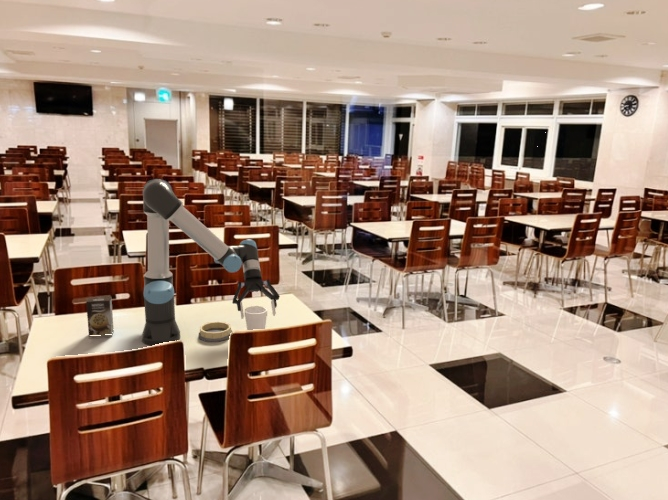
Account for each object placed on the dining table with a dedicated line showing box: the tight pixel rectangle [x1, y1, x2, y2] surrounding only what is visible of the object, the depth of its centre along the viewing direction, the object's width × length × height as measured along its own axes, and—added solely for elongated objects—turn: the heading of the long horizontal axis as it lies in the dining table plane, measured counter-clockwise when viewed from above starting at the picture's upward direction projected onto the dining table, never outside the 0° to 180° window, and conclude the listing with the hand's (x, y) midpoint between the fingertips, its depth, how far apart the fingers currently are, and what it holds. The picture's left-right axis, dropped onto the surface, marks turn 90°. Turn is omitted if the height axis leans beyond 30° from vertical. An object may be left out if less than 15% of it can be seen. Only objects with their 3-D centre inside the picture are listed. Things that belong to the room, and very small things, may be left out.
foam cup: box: [244, 305, 268, 330], centre depth 217 cm, size 10×9×13 cm
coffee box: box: [85, 295, 115, 339], centre depth 216 cm, size 9×6×16 cm
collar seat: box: [198, 321, 233, 343], centre depth 220 cm, size 14×14×4 cm
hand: (258, 316), depth 220 cm, fingers open, 13 cm apart
